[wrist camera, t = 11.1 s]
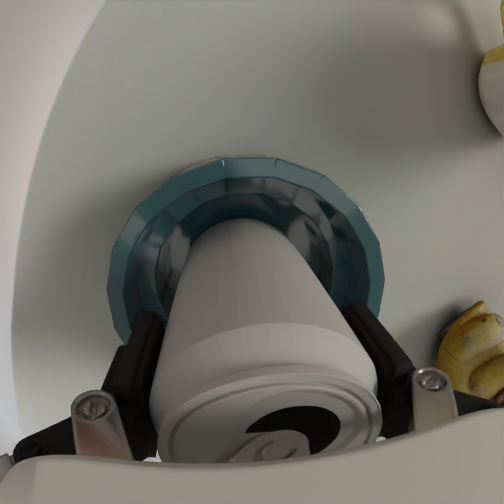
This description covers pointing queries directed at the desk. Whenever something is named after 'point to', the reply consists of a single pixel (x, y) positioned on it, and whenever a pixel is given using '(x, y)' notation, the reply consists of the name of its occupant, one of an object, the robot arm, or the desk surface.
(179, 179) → the bowl
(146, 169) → the desk surface
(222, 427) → the beverage can
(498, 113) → the mug
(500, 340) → the decorative figurine
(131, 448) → the robot arm
